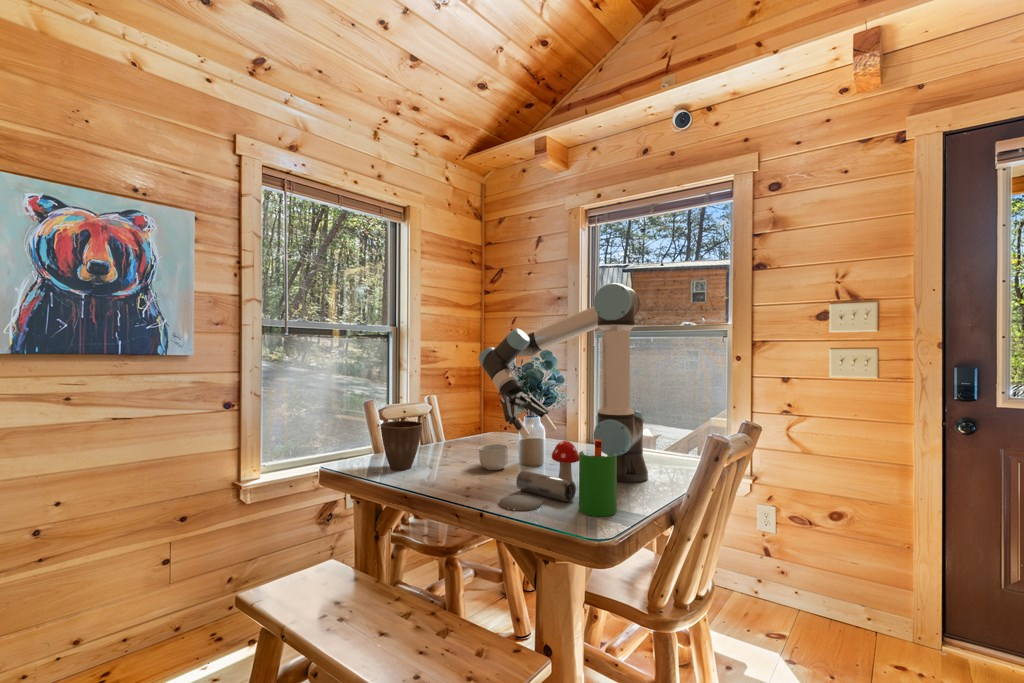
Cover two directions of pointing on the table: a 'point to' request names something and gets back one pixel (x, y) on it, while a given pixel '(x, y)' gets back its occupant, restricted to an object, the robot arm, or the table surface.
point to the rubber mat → (521, 502)
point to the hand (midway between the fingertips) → (540, 434)
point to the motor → (597, 483)
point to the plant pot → (401, 442)
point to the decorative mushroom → (565, 458)
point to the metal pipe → (546, 486)
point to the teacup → (493, 456)
